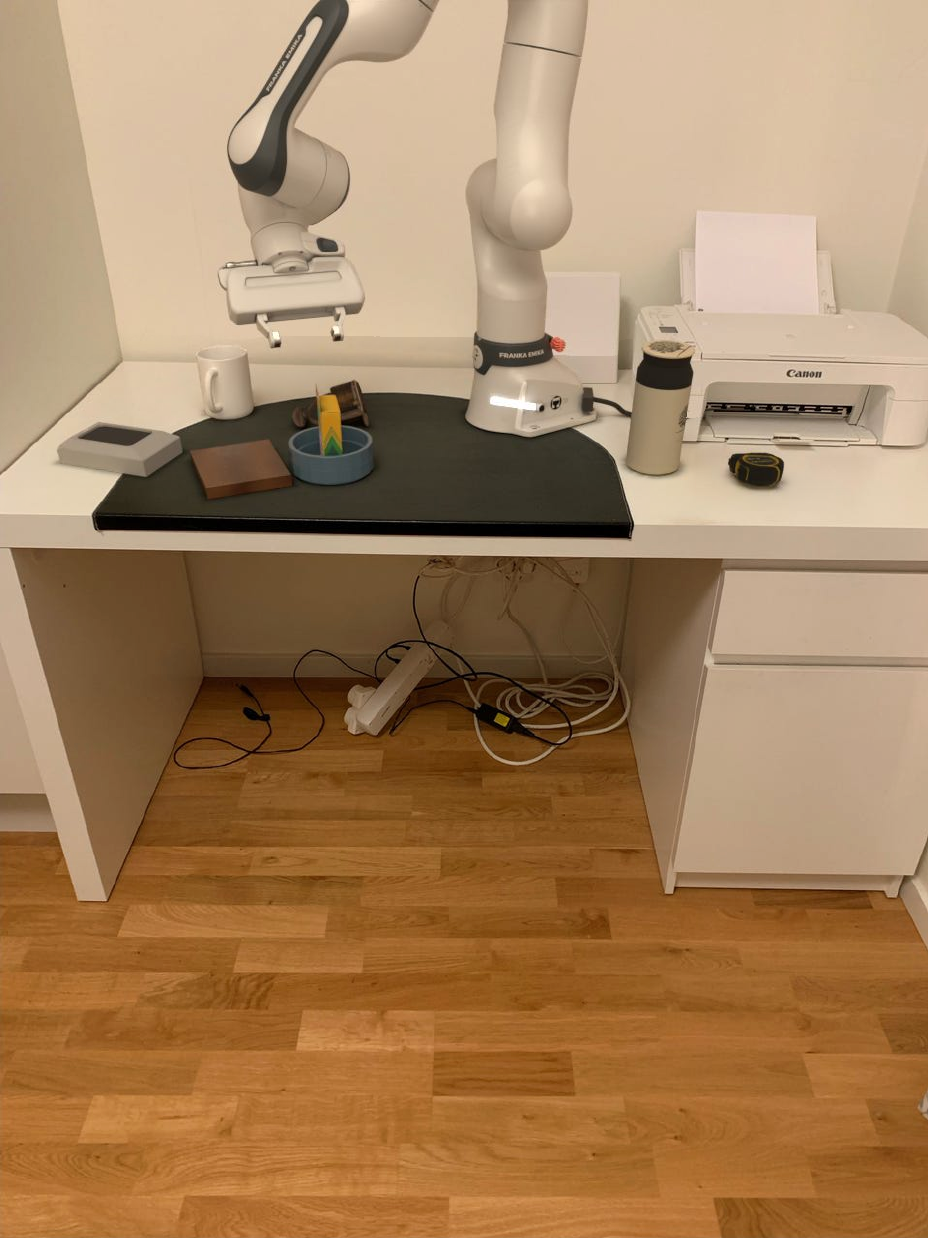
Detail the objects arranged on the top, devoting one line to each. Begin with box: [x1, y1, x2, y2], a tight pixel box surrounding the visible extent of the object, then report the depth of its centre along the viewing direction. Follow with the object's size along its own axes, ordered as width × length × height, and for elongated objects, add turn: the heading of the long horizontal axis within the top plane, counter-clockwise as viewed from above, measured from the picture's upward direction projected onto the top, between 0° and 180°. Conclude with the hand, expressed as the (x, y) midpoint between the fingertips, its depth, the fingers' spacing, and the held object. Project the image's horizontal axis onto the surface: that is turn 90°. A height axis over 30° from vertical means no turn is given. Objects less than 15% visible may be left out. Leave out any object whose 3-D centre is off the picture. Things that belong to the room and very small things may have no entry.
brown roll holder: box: [291, 379, 370, 429], centre depth 144 cm, size 7×13×10 cm
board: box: [189, 439, 293, 500], centre depth 129 cm, size 12×14×2 cm
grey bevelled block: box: [56, 421, 183, 478], centre depth 132 cm, size 10×4×15 cm
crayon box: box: [314, 383, 343, 456], centre depth 127 cm, size 7×3×12 cm, turn 12°
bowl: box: [288, 424, 375, 486], centre depth 130 cm, size 12×12×4 cm
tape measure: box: [727, 452, 785, 487], centre depth 128 cm, size 7×7×4 cm
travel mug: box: [625, 339, 696, 476], centre depth 128 cm, size 8×8×18 cm
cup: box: [195, 344, 255, 420], centre depth 146 cm, size 8×12×10 cm
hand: (307, 342), depth 128 cm, fingers open, 8 cm apart
